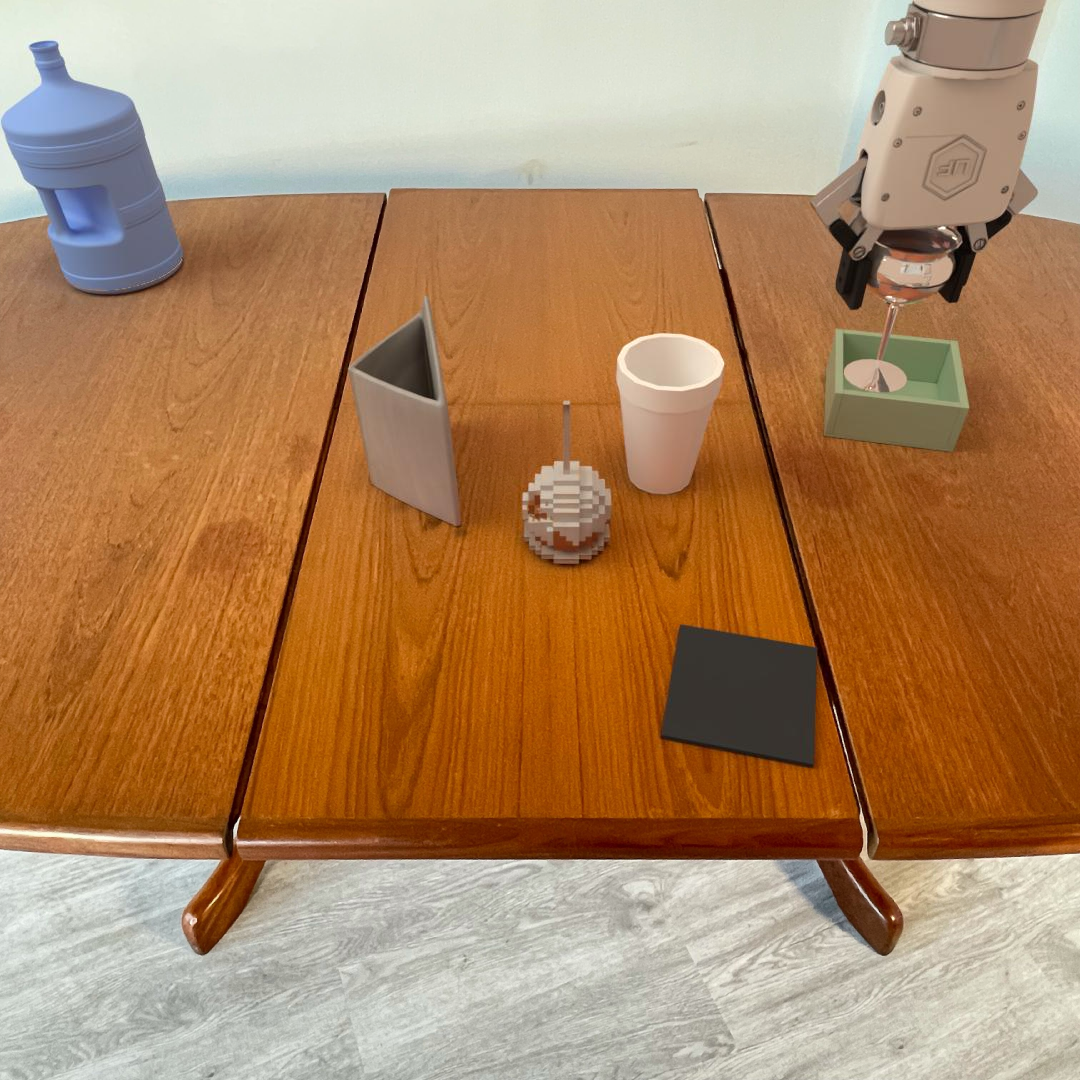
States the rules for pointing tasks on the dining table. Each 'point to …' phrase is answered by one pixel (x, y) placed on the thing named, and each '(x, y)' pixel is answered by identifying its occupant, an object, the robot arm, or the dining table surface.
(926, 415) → the bin
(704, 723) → the mat
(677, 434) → the foam cup
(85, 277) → the water jug
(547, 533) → the decorative ornament
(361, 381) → the planter
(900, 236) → the wineglass
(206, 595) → the dining table surface
